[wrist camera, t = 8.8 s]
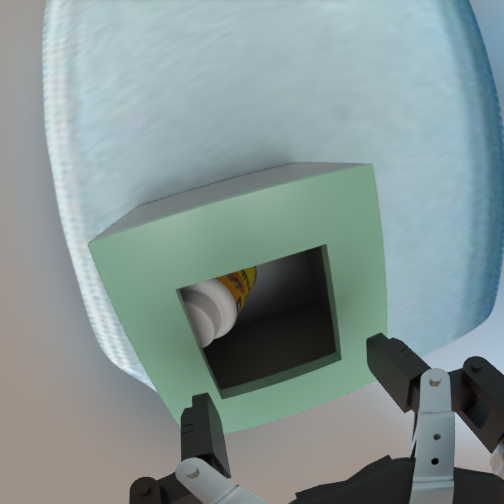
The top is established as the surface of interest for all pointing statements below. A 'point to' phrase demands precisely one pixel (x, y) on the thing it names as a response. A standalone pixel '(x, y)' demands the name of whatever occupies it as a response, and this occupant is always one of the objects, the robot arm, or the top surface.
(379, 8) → the top surface
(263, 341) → the box
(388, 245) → the top surface
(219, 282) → the supplement bottle
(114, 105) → the top surface
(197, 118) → the top surface
